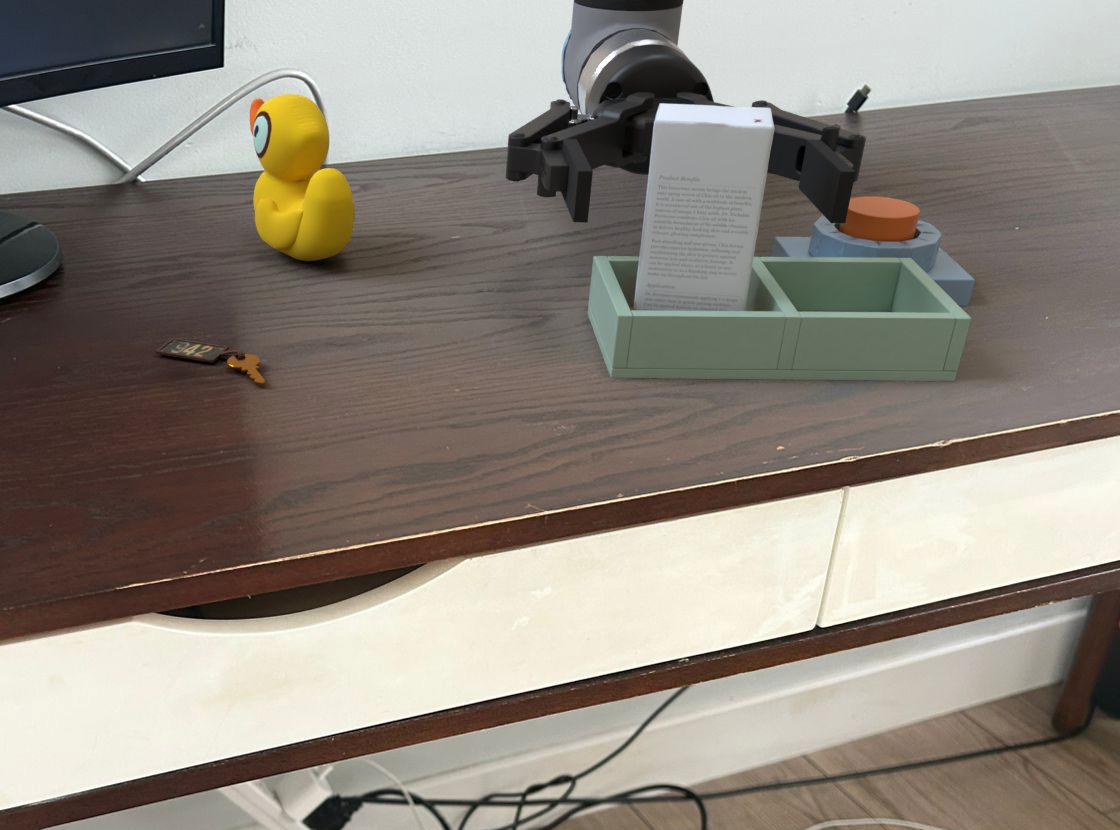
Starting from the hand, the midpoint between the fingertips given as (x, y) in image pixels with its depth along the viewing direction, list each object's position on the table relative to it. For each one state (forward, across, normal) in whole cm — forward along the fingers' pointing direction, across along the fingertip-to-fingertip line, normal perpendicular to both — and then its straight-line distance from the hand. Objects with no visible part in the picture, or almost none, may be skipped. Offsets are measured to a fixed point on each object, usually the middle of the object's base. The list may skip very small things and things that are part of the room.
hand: (713, 197), depth 72 cm
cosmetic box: (-1, 0, -8) cm, 8 cm away
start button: (-12, -13, -6) cm, 19 cm away
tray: (-1, -4, -9) cm, 10 cm away
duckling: (-17, +23, -9) cm, 30 cm away
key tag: (+2, +27, -9) cm, 28 cm away
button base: (-12, -13, -9) cm, 20 cm away
